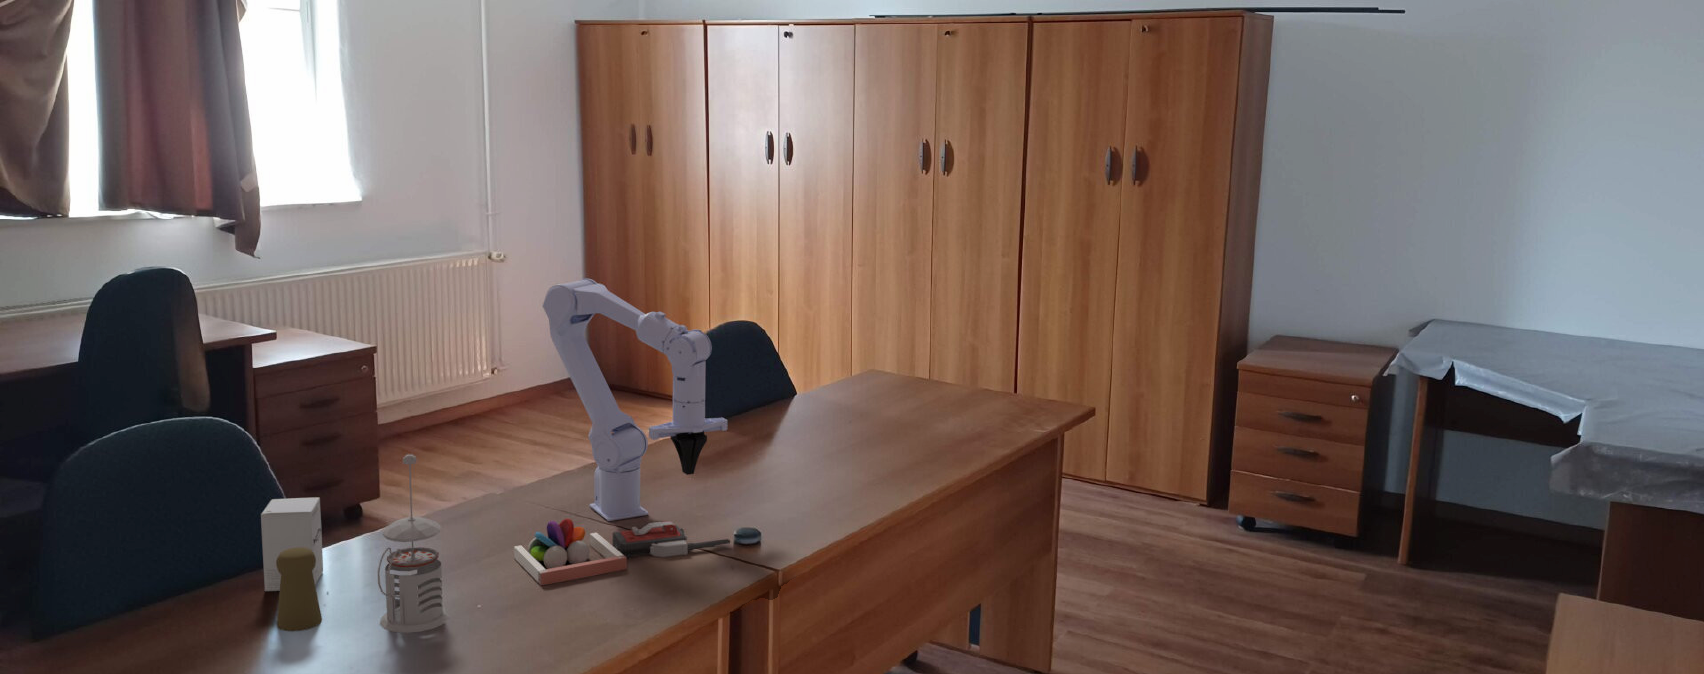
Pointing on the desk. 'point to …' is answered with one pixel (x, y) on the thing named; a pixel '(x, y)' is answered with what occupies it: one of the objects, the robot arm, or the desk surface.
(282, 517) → the supplement box
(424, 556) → the french press
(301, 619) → the cork
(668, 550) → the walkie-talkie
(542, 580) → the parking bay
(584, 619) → the desk surface
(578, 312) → the robot arm
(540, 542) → the colorful petals pebble cluster
